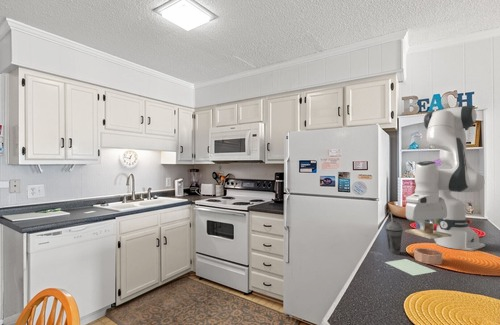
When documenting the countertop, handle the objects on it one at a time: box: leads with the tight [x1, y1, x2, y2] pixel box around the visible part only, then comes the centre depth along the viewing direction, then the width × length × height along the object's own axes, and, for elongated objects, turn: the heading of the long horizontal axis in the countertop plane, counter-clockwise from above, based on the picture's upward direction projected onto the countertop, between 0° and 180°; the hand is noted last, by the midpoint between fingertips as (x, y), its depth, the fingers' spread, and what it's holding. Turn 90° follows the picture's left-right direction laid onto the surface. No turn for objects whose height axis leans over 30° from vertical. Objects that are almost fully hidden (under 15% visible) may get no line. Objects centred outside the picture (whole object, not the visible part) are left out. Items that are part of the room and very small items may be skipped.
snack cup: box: [409, 219, 439, 229], centre depth 169 cm, size 16×10×10 cm
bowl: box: [413, 247, 443, 266], centre depth 113 cm, size 10×10×4 cm
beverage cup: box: [385, 211, 404, 255], centre depth 123 cm, size 7×7×20 cm
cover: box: [404, 222, 451, 240], centre depth 113 cm, size 12×12×5 cm
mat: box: [384, 258, 438, 276], centre depth 106 cm, size 12×14×1 cm
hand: (427, 229), depth 113 cm, fingers closed on cover, 3 cm apart
